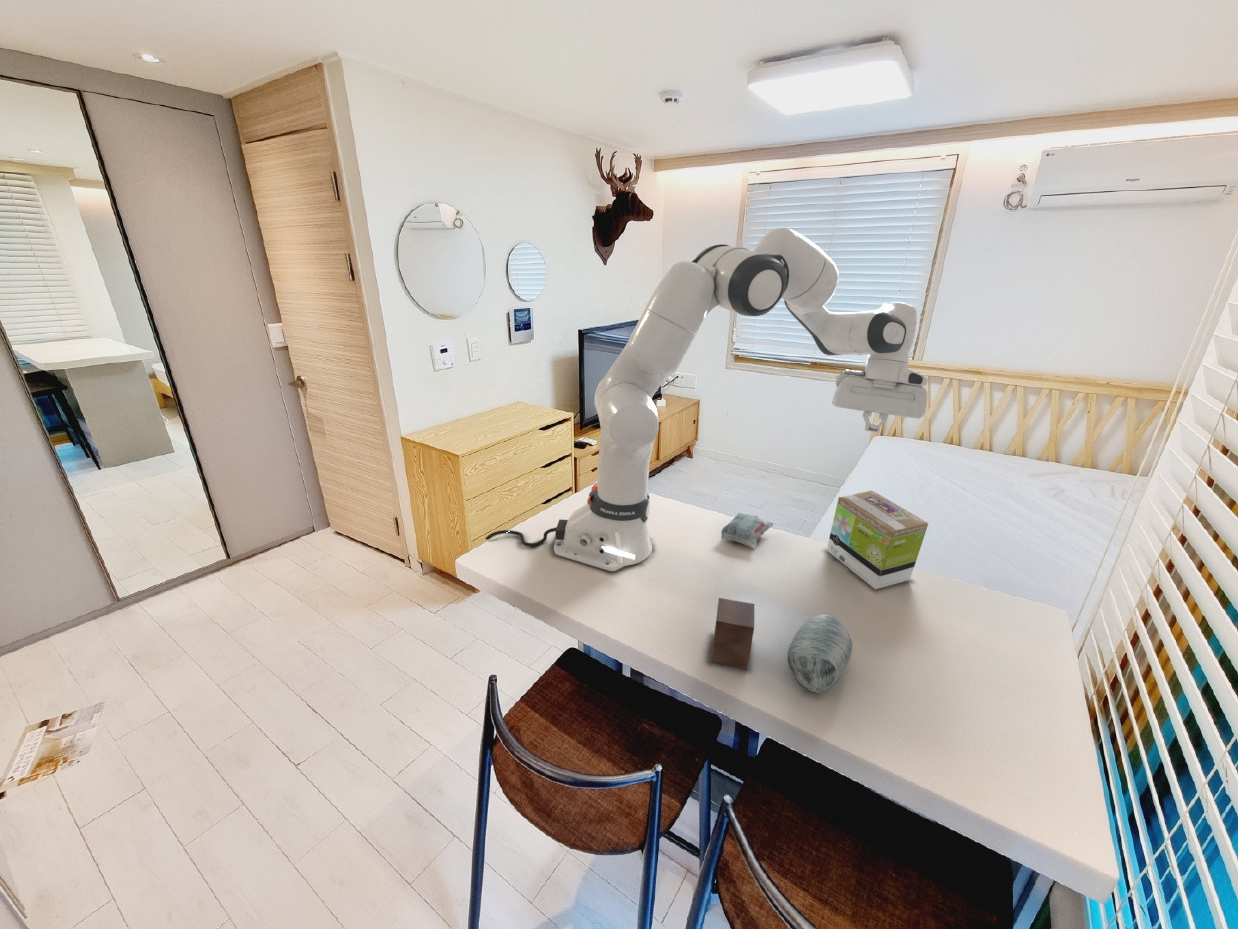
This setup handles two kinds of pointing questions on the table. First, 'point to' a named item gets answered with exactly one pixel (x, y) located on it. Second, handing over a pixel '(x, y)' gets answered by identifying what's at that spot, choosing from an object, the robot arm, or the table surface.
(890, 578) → the tea box
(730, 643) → the walnut block
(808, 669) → the spool
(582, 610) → the table surface
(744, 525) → the packaged food
